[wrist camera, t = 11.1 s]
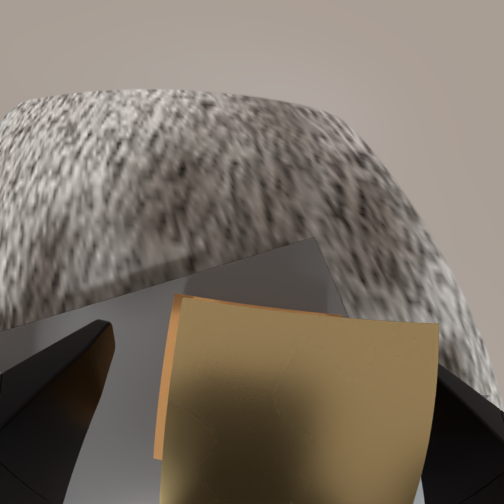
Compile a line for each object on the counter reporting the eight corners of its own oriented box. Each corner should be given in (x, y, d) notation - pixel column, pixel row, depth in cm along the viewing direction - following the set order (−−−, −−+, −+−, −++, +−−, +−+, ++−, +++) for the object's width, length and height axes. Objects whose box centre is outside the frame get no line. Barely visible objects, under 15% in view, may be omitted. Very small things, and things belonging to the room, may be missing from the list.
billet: (283, 430, 12) (402, 533, 2) (198, 421, 12) (158, 547, 2) (293, 350, 13) (438, 323, 4) (208, 340, 13) (182, 297, 4)
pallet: (376, 431, 13) (410, 443, 10) (6, 502, 8) (-19, 515, 4) (306, 247, 17) (326, 220, 14) (-44, 350, 11) (-74, 344, 8)
